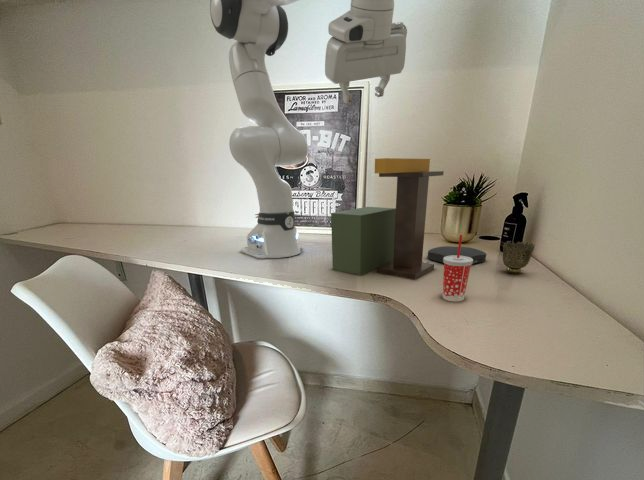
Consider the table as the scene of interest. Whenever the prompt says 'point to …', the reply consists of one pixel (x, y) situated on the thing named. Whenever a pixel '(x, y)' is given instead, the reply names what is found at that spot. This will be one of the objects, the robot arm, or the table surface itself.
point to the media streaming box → (445, 251)
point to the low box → (362, 239)
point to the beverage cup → (456, 275)
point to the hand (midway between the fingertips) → (363, 99)
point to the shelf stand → (409, 225)
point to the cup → (516, 256)
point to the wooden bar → (401, 165)
